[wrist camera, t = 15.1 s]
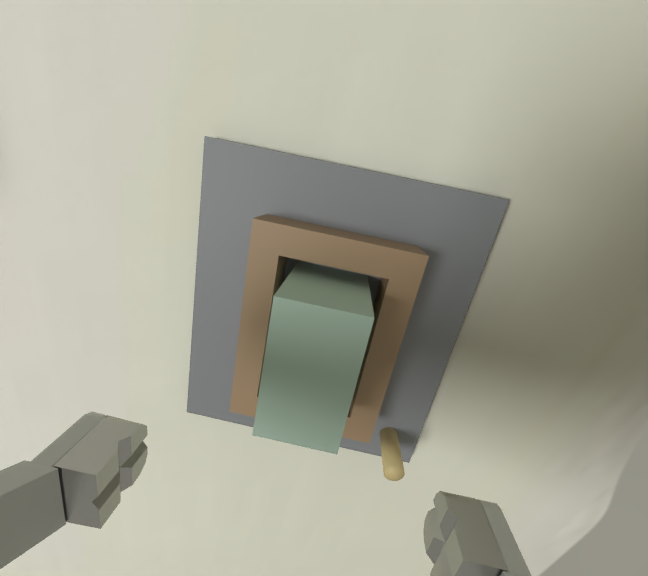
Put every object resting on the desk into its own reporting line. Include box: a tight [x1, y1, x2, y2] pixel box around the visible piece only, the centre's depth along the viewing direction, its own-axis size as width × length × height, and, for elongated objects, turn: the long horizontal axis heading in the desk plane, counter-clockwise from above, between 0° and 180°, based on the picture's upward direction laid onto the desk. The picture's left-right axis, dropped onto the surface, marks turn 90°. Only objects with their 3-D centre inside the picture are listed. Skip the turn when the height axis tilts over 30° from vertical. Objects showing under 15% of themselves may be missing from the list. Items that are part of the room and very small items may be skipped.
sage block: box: [253, 261, 374, 454], centre depth 16 cm, size 4×7×6 cm, turn 169°
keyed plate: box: [187, 136, 509, 481], centre depth 18 cm, size 18×16×4 cm
